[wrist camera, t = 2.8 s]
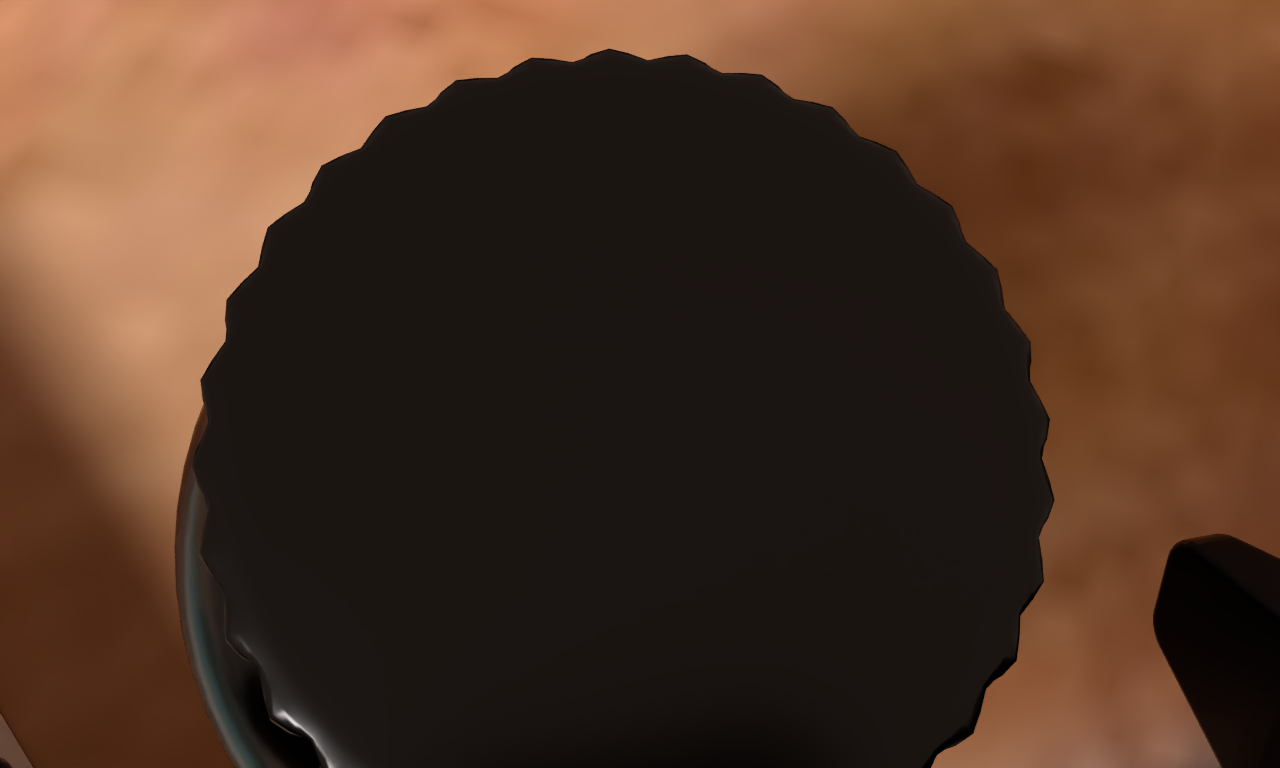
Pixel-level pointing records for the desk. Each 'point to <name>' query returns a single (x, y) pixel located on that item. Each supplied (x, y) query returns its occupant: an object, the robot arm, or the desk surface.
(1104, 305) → the desk surface
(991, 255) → the desk surface
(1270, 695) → the robot arm
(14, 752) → the tray
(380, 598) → the supplement bottle
